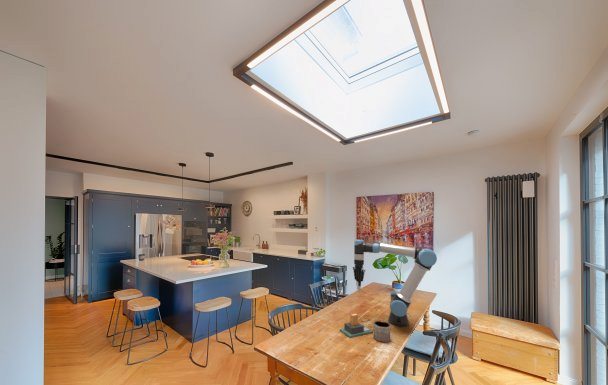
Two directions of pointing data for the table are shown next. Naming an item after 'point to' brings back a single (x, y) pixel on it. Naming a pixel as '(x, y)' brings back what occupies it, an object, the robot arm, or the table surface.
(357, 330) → the board
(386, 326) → the planter
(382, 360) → the table surface
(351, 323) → the plug
